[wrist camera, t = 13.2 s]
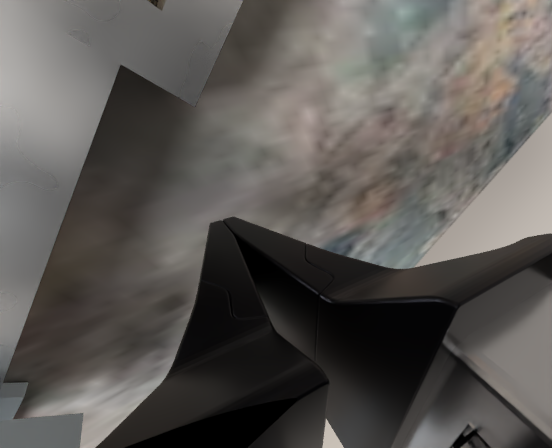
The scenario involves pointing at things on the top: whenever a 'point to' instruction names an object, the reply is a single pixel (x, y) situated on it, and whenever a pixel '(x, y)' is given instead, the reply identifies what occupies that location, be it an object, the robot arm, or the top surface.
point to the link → (77, 110)
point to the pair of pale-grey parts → (35, 424)
